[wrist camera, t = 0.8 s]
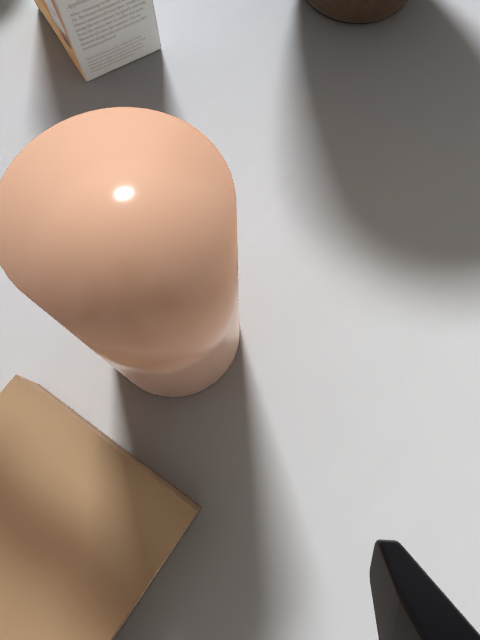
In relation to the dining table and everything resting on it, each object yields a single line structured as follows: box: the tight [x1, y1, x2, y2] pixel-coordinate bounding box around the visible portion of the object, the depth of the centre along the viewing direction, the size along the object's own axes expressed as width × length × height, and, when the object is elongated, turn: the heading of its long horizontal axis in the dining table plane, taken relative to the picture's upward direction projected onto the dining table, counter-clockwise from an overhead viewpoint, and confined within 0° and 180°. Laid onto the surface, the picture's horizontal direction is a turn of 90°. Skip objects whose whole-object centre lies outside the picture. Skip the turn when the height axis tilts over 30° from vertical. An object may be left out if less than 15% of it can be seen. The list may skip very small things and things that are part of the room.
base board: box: [0, 375, 201, 640], centre depth 20 cm, size 10×10×2 cm
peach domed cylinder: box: [0, 107, 240, 397], centre depth 18 cm, size 7×7×12 cm
